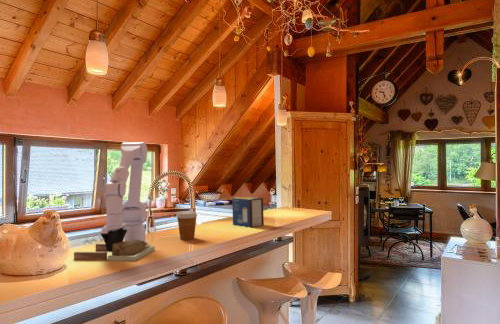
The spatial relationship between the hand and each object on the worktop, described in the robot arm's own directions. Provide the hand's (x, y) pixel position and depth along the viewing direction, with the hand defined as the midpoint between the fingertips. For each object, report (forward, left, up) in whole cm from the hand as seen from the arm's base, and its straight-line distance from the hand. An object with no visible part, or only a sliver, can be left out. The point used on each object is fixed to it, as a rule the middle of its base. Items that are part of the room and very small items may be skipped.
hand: (114, 250), depth 135 cm
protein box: (-73, +41, -2) cm, 84 cm away
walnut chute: (-1, -6, -2) cm, 6 cm away
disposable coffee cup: (-33, +18, -2) cm, 38 cm away
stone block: (+1, +6, -2) cm, 6 cm away
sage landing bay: (-1, +6, -2) cm, 6 cm away
